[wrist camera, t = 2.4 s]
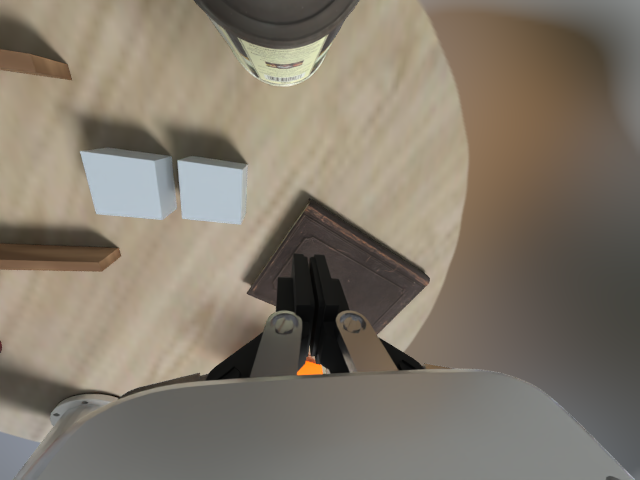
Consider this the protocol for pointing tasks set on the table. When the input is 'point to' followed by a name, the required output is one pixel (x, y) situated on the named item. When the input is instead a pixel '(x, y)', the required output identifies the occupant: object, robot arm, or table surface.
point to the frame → (49, 254)
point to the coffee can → (279, 34)
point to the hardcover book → (345, 266)
